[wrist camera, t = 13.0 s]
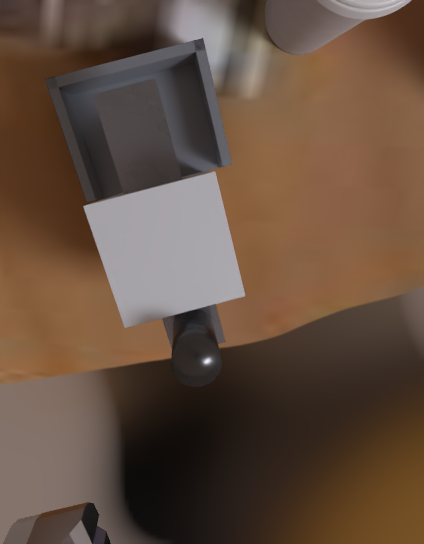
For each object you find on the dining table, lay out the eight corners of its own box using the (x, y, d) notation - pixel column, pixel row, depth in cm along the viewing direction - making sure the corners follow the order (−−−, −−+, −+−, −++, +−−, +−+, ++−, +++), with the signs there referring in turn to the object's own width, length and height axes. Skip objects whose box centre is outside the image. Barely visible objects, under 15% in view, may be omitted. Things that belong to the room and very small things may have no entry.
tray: (60, 89, 34) (44, 78, 30) (200, 53, 34) (203, 38, 30) (96, 199, 37) (86, 202, 33) (226, 165, 37) (231, 164, 33)
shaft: (102, 102, 26) (66, 71, 18) (158, 88, 26) (147, 50, 18) (174, 338, 31) (172, 397, 23) (221, 326, 31) (235, 380, 23)
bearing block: (121, 192, 37) (83, 206, 22) (201, 171, 37) (215, 171, 22) (145, 269, 39) (124, 328, 24) (221, 249, 39) (245, 295, 24)
